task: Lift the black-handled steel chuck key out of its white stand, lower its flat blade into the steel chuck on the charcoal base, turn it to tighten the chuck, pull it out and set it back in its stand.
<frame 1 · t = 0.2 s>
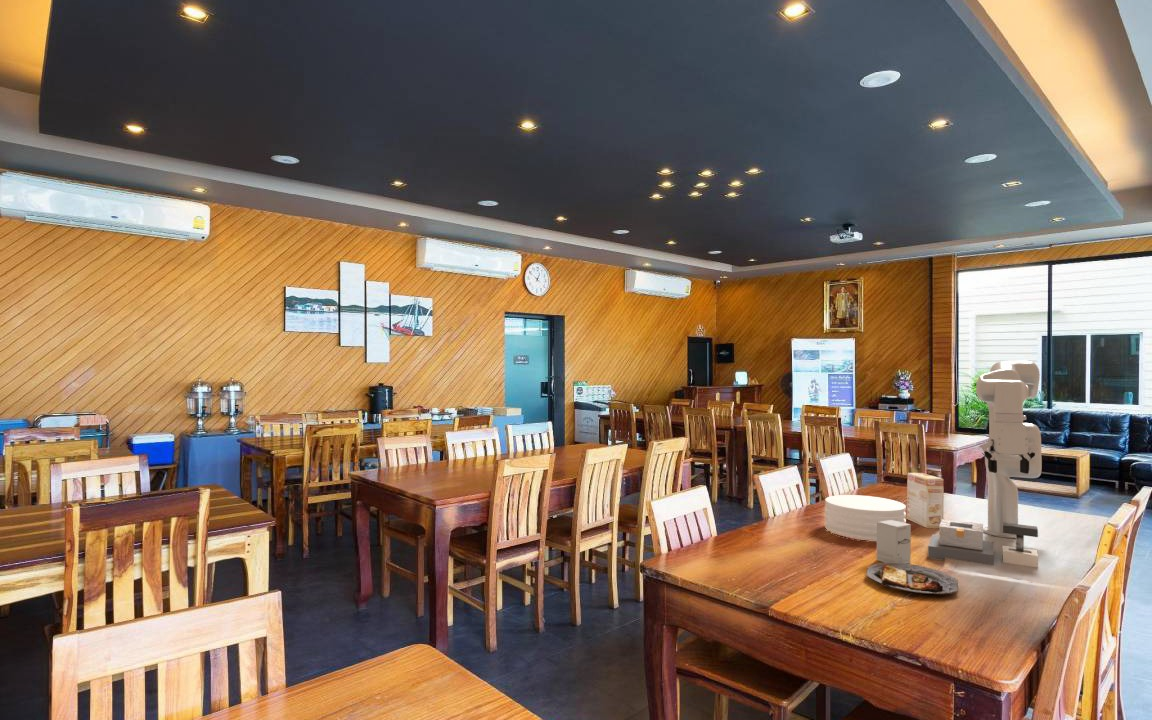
hand: (1008, 472, 199), 30 cm above the table, fingers open, 9 cm apart
grey flat slab: (961, 556, 209), on the table
food plate: (911, 585, 181), on the table
supplement box: (893, 562, 202), on the table
chuck key: (1019, 561, 200), point 1 cm above the table, touching key stand
chuck: (961, 535, 207), point 7 cm above the table, hinge at 0.0°
key stand: (1019, 564, 200), on the table
plate stack: (864, 532, 239), on the table
coffeecake box: (924, 524, 252), on the table
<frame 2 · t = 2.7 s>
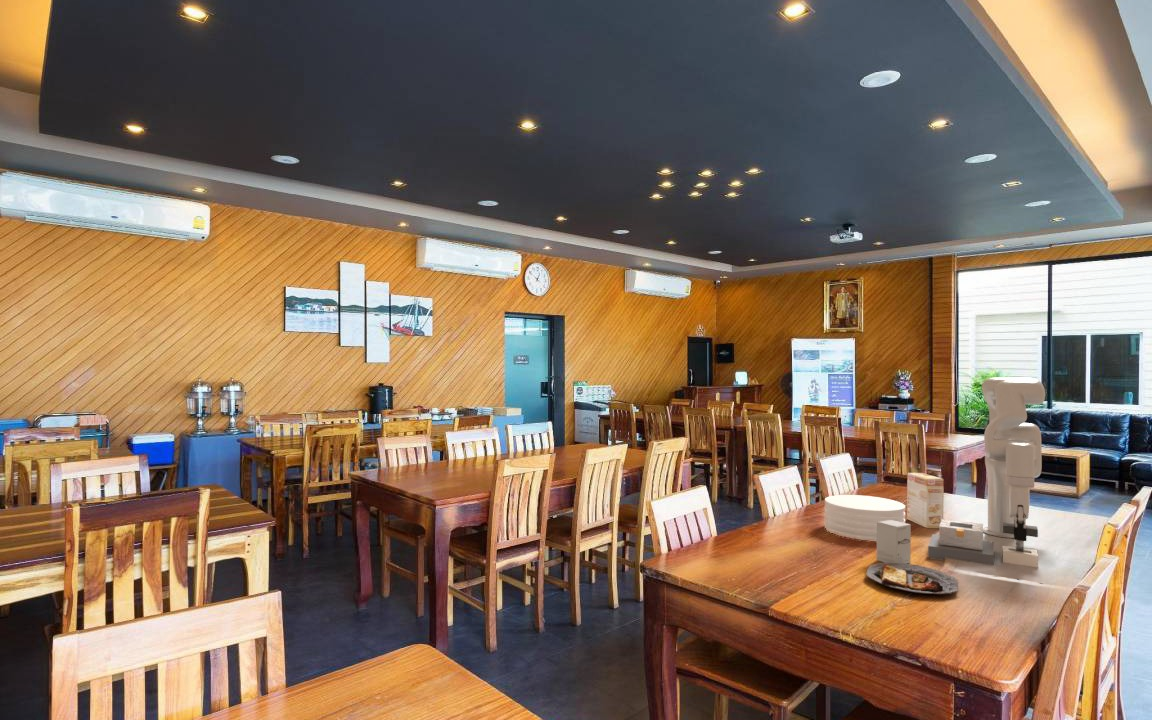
hand: (1019, 537, 200), 9 cm above the table, fingers closed on chuck key, 4 cm apart
chuck key: (1019, 561, 200), point 1 cm above the table, touching gripper, key stand
everything else where it was.
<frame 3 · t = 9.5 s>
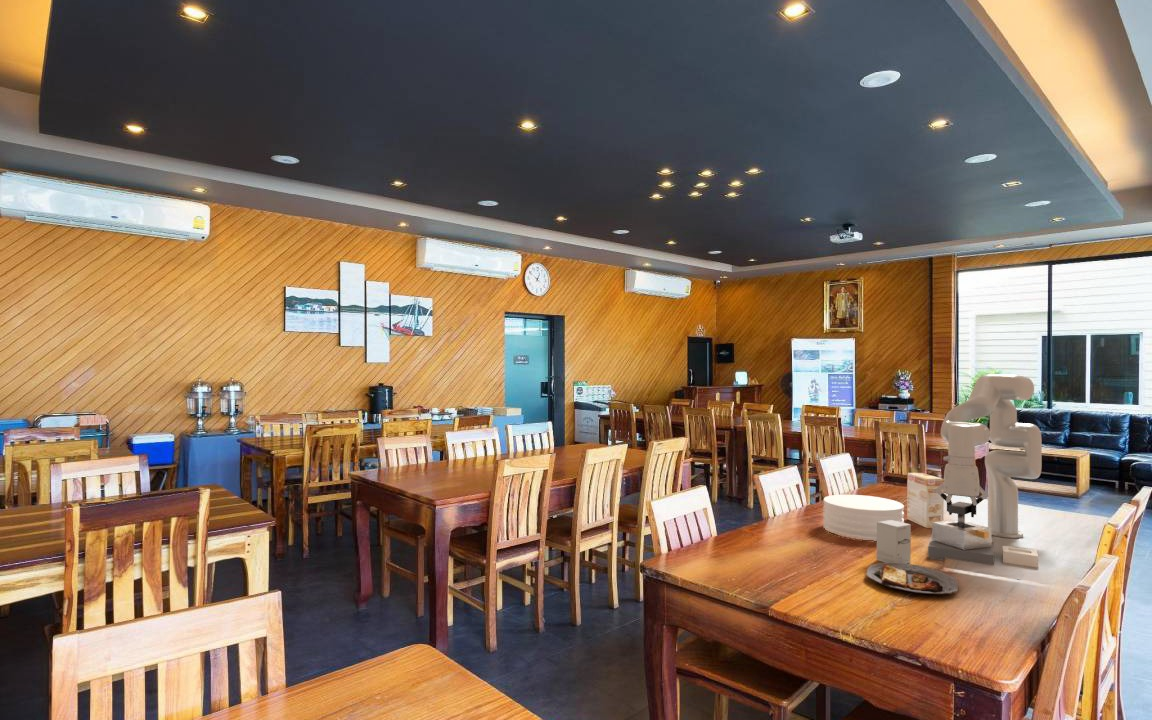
hand: (961, 514, 209), 14 cm above the table, fingers closed on chuck key, 5 cm apart
chuck key: (961, 538, 209), point 6 cm above the table, touching gripper
chuck: (965, 535, 207), point 7 cm above the table, hinge at 52.4°
everything else where it was.
when the fingers open (10 cm above the table, at t = 16.4 s): chuck key drops 1 cm, resting on key stand.
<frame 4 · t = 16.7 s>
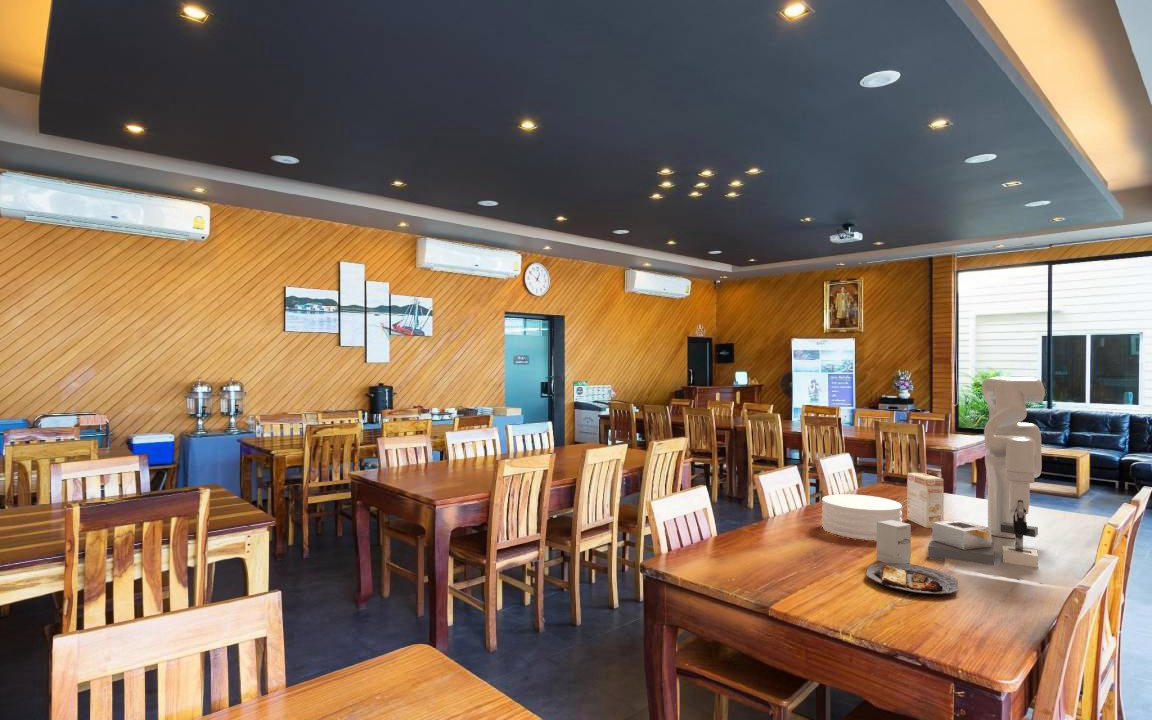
hand: (1019, 530, 200), 11 cm above the table, fingers open, 8 cm apart
chuck key: (1019, 561, 200), point 1 cm above the table, touching key stand
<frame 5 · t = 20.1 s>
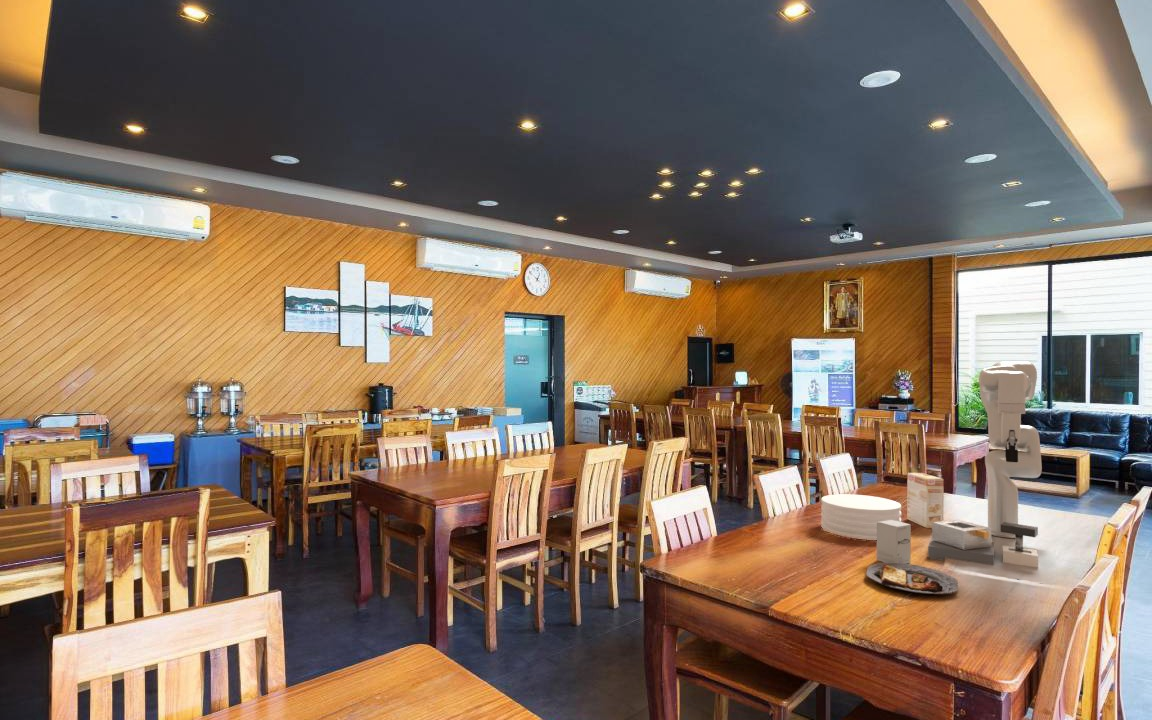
hand: (1011, 460, 208), 32 cm above the table, fingers open, 9 cm apart
at the end: chuck at +52° (first picture: +0°); chuck key 0.2 cm off-centre on the key stand, point 1.0 cm above the key stand's base; the gripper is holding nothing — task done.
